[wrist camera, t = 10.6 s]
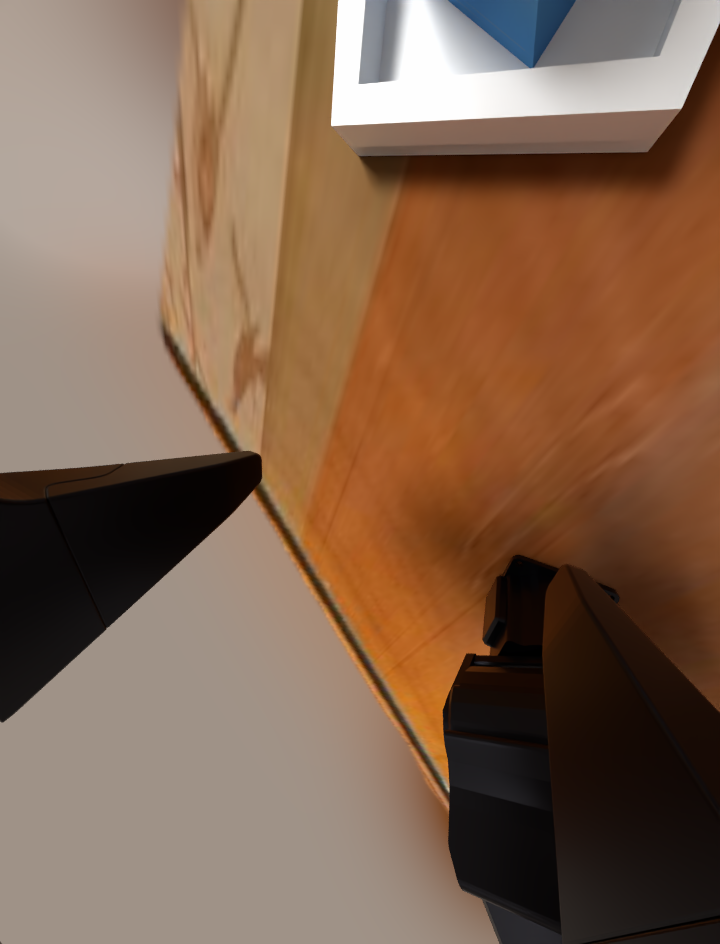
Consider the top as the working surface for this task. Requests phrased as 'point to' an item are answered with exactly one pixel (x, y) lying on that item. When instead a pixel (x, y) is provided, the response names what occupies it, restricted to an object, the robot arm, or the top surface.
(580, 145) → the tray
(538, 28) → the perfume bottle
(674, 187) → the top surface
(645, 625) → the top surface
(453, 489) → the top surface
